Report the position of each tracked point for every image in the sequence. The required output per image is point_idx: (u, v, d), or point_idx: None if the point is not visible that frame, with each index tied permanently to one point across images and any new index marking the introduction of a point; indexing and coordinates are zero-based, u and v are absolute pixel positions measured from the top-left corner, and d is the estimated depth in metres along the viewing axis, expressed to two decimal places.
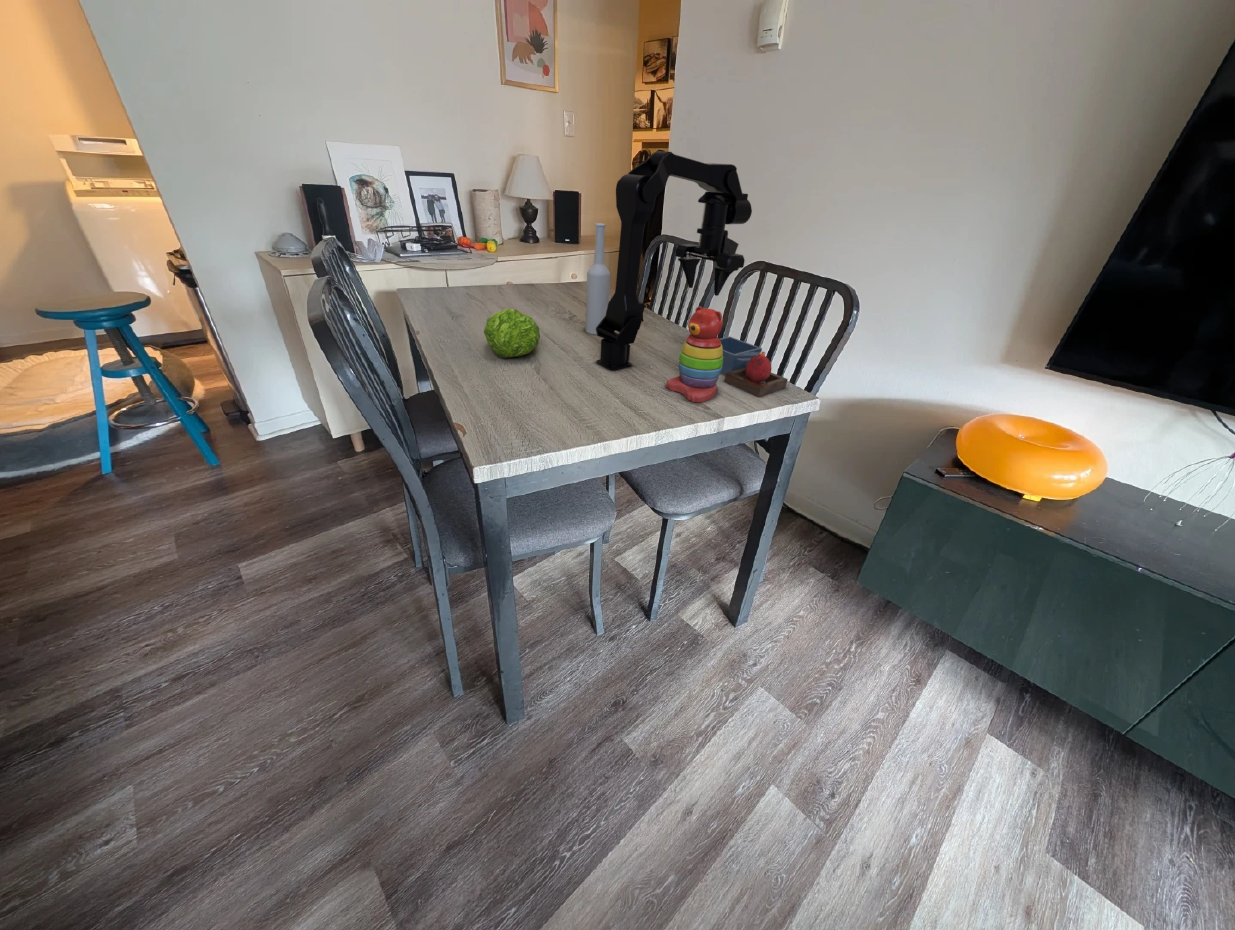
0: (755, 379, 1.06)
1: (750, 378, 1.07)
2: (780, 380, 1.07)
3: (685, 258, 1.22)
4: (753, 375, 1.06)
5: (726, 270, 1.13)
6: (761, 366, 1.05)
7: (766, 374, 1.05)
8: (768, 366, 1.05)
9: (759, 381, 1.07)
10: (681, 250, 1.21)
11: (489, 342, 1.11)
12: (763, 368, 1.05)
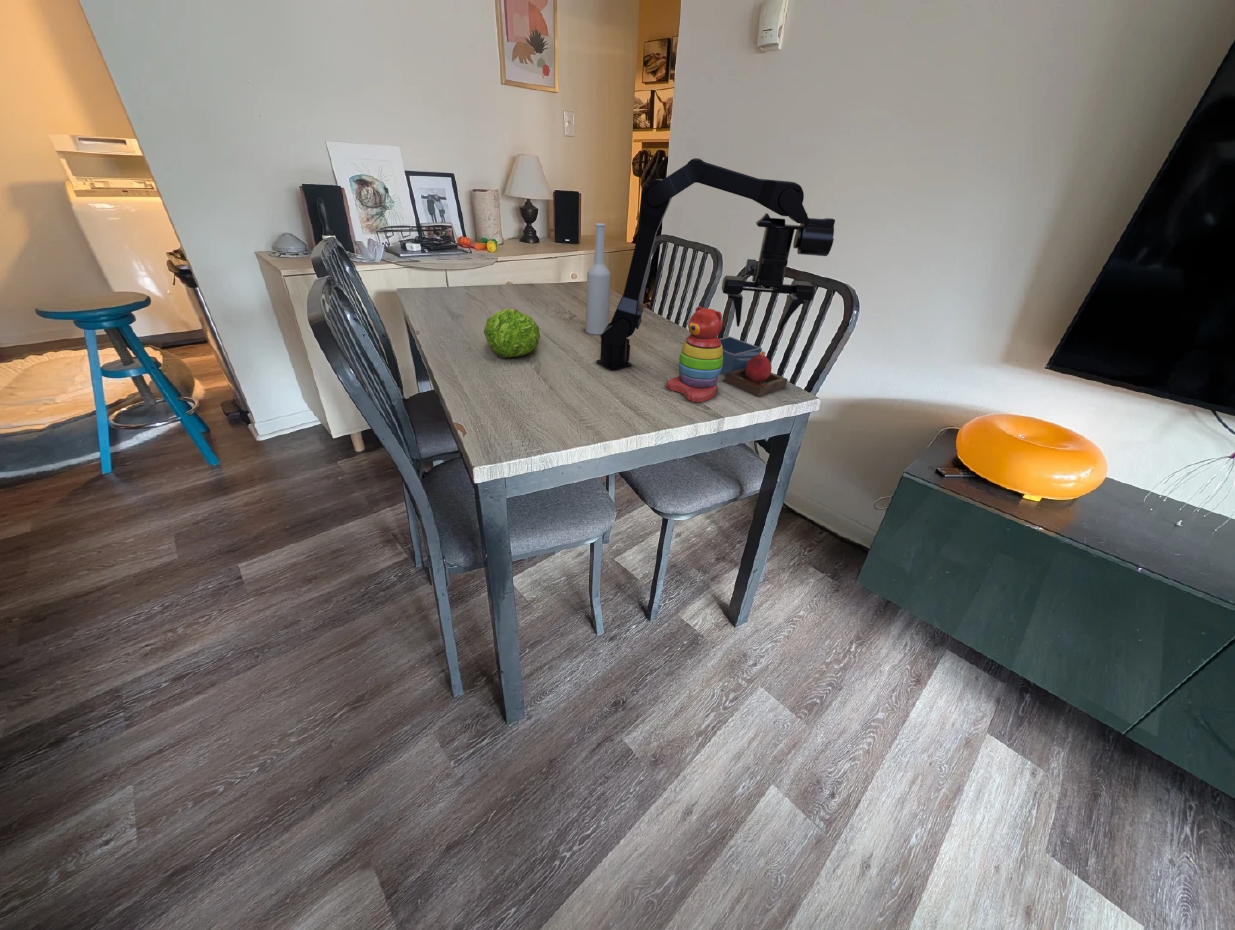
0: (755, 379, 1.06)
1: (750, 378, 1.07)
2: (780, 380, 1.07)
3: (739, 294, 1.00)
4: (753, 375, 1.06)
5: None
6: (761, 366, 1.05)
7: (766, 374, 1.05)
8: (768, 366, 1.05)
9: (759, 381, 1.07)
10: (737, 286, 0.99)
11: (489, 342, 1.11)
12: (763, 368, 1.05)
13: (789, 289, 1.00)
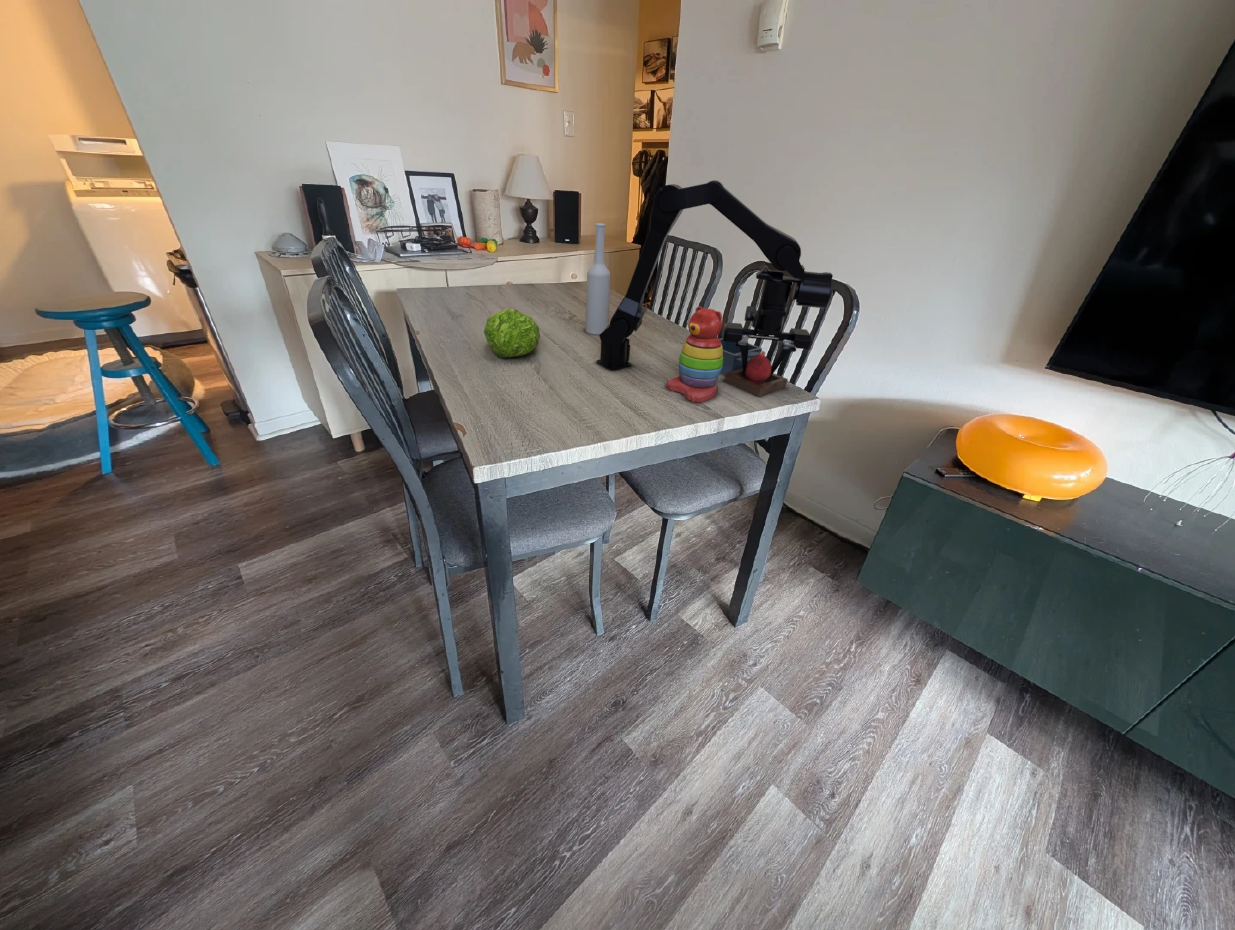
0: (755, 379, 1.06)
1: (750, 378, 1.07)
2: (780, 380, 1.07)
3: (745, 342, 1.03)
4: (753, 375, 1.06)
5: (795, 349, 1.02)
6: (761, 366, 1.05)
7: (766, 374, 1.05)
8: (768, 366, 1.05)
9: (759, 381, 1.07)
10: (736, 334, 1.01)
11: (489, 342, 1.11)
12: (763, 368, 1.05)
13: (788, 337, 1.03)
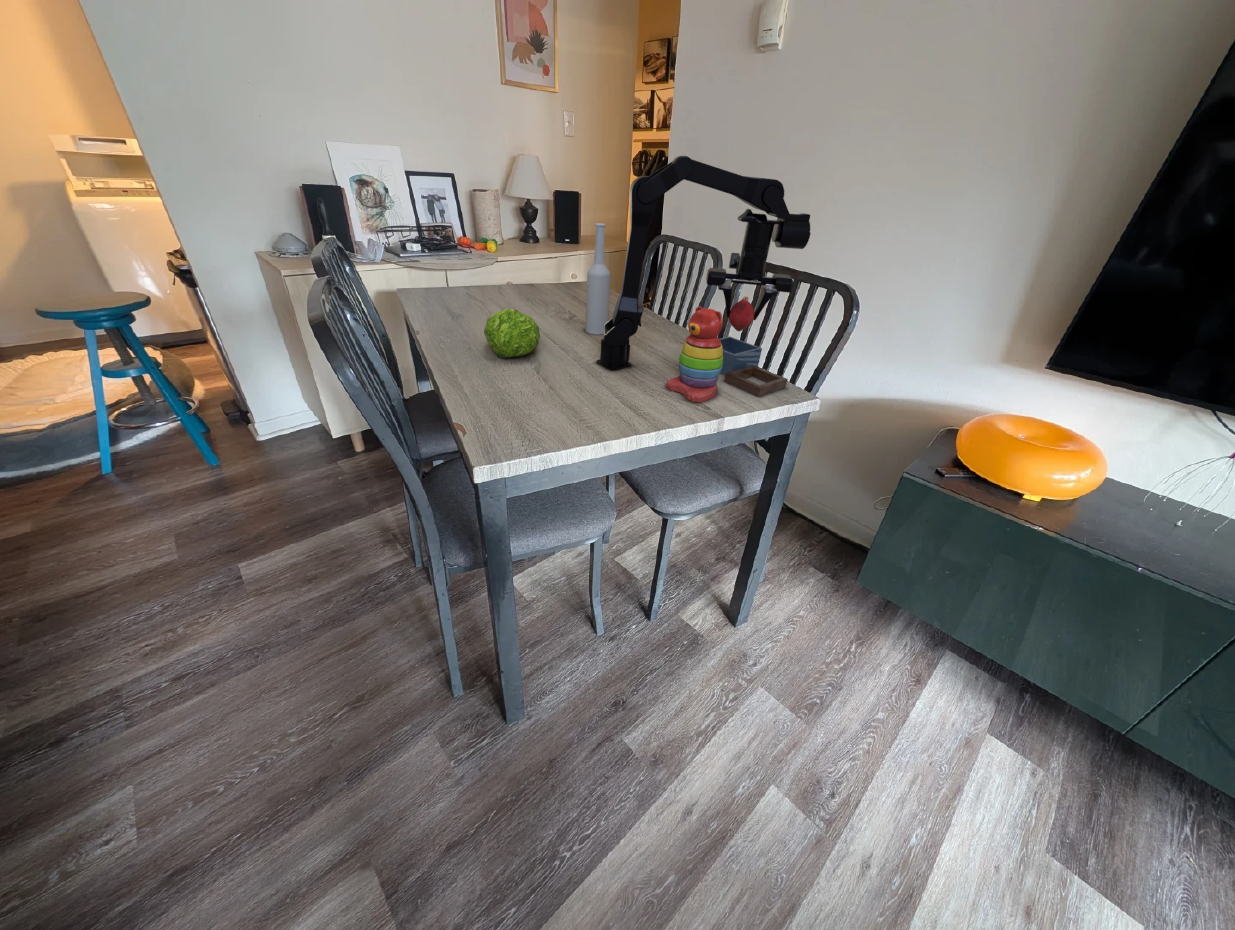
0: (738, 324, 1.09)
1: (733, 323, 1.10)
2: (780, 380, 1.07)
3: (728, 286, 1.05)
4: (736, 320, 1.09)
5: None
6: (744, 311, 1.07)
7: (748, 318, 1.08)
8: (750, 310, 1.08)
9: (742, 326, 1.10)
10: (720, 277, 1.04)
11: (489, 342, 1.11)
12: (746, 312, 1.08)
13: (770, 281, 1.05)
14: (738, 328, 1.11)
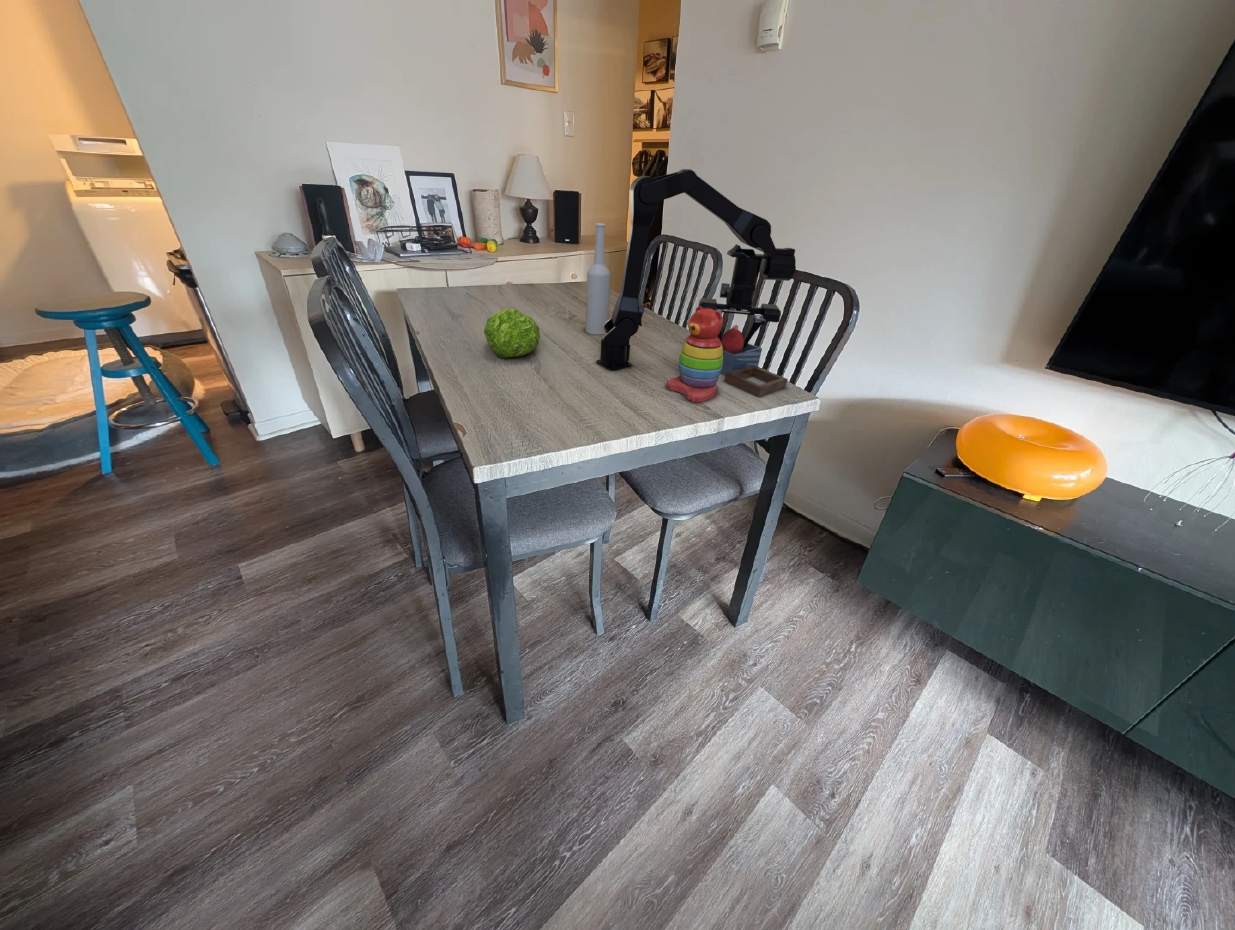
0: (729, 351, 1.14)
1: None
2: (780, 380, 1.07)
3: None
4: (727, 347, 1.14)
5: (765, 322, 1.10)
6: (734, 339, 1.13)
7: (738, 346, 1.13)
8: (740, 338, 1.13)
9: (733, 353, 1.15)
10: (710, 308, 1.09)
11: (489, 342, 1.11)
12: (736, 340, 1.13)
13: (758, 311, 1.10)
14: None
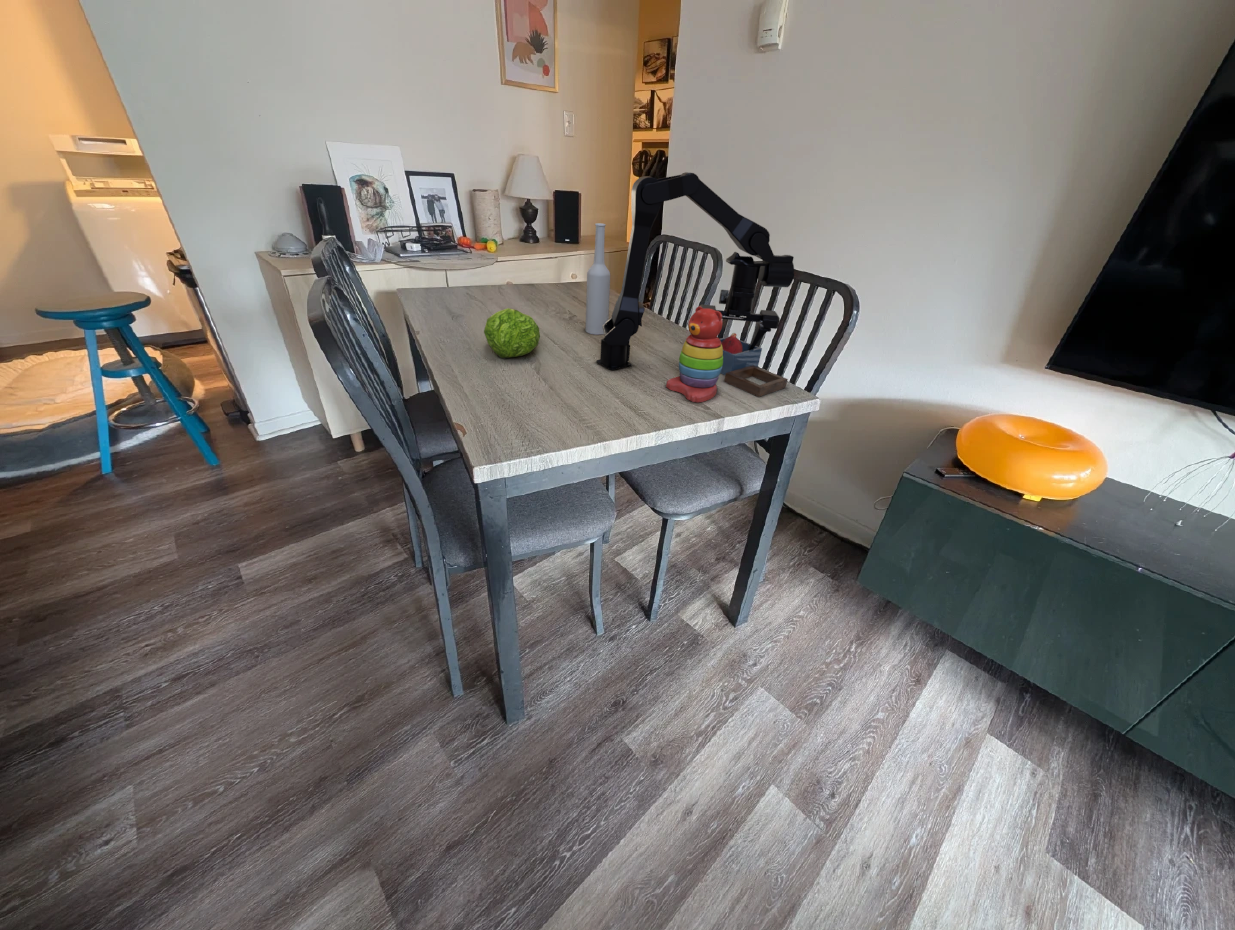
0: None
1: None
2: (780, 380, 1.07)
3: None
4: None
5: (770, 329, 1.11)
6: (733, 347, 1.14)
7: None
8: (739, 346, 1.14)
9: None
10: None
11: (489, 342, 1.11)
12: (735, 348, 1.14)
13: (757, 318, 1.11)
14: None
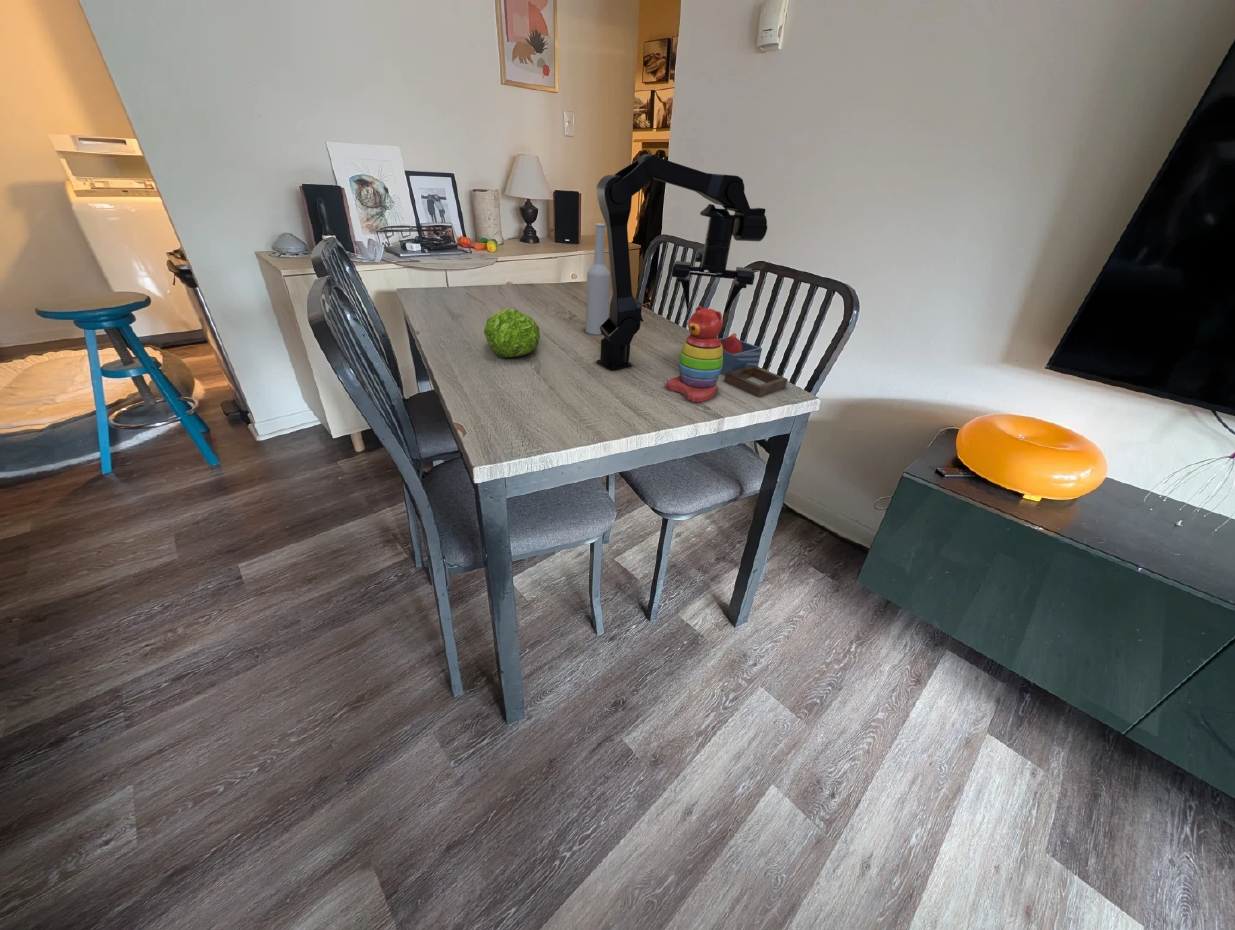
0: None
1: None
2: (780, 380, 1.07)
3: (686, 278, 1.10)
4: None
5: None
6: (733, 347, 1.14)
7: None
8: (739, 346, 1.14)
9: None
10: (684, 270, 1.08)
11: (489, 342, 1.11)
12: (735, 348, 1.14)
13: (732, 274, 1.09)
14: None
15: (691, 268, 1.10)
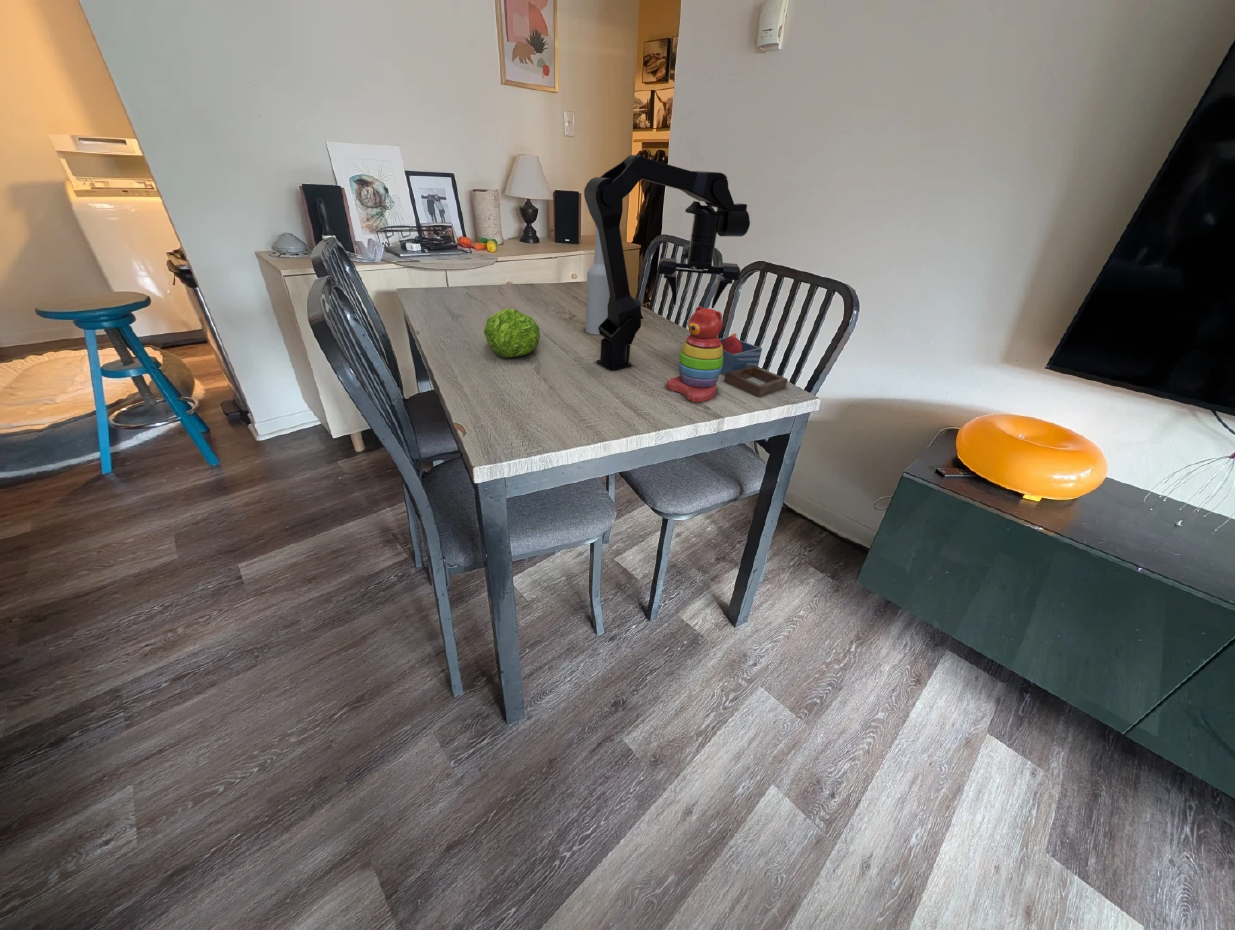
0: None
1: None
2: (780, 380, 1.07)
3: (673, 274, 1.11)
4: None
5: (732, 281, 1.10)
6: (733, 347, 1.14)
7: None
8: (738, 346, 1.14)
9: None
10: (670, 267, 1.09)
11: (489, 342, 1.11)
12: (735, 348, 1.14)
13: (718, 270, 1.11)
14: None
15: (677, 265, 1.11)
